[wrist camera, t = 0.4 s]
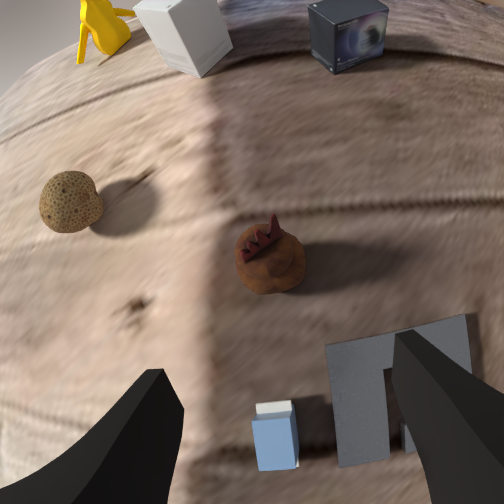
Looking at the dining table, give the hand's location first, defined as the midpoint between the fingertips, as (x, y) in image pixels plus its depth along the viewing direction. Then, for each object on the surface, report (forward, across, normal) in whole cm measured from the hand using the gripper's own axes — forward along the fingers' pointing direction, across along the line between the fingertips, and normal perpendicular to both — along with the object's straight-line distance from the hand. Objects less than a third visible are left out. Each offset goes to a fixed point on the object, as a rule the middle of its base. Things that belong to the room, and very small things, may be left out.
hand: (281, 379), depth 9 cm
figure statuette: (+60, +26, -33) cm, 73 cm away
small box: (+45, -17, -16) cm, 51 cm away
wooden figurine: (+26, +1, +9) cm, 28 cm away
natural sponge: (+35, +26, -1) cm, 44 cm away
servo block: (+15, +3, +23) cm, 28 cm away
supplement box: (+50, +7, -22) cm, 55 cm away
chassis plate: (+16, -11, +22) cm, 29 cm away
